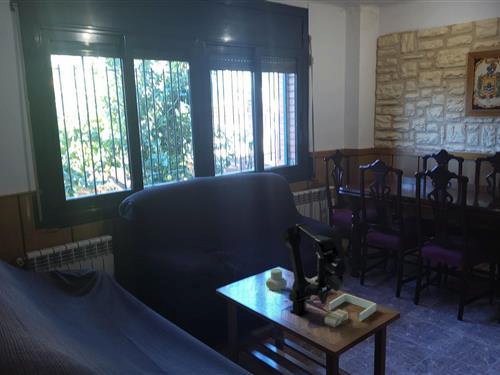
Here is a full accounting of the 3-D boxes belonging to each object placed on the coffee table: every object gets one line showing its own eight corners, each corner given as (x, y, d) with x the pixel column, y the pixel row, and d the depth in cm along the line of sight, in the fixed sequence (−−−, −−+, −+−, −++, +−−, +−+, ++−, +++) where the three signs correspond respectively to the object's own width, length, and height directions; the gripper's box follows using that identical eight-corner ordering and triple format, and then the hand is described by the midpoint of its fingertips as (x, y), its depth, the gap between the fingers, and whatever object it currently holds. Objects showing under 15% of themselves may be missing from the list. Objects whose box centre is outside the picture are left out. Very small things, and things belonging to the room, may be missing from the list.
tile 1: (334, 327, 184) (334, 321, 183) (324, 324, 187) (324, 317, 187) (340, 323, 188) (340, 317, 187) (330, 319, 191) (330, 313, 190)
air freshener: (263, 288, 225) (263, 270, 223) (272, 283, 231) (272, 265, 229) (280, 294, 218) (280, 275, 216) (289, 288, 224) (289, 270, 222)
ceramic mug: (305, 290, 221) (306, 276, 219) (316, 286, 226) (317, 272, 224) (321, 298, 213) (321, 283, 211) (332, 293, 218) (332, 279, 216)
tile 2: (341, 322, 188) (341, 316, 188) (332, 318, 192) (332, 312, 191) (347, 319, 192) (348, 312, 191) (338, 315, 195) (338, 309, 195)
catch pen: (360, 321, 189) (360, 314, 188) (328, 309, 200) (328, 302, 199) (375, 310, 199) (376, 303, 198) (344, 300, 210) (345, 293, 209)
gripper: (328, 280, 165) (327, 317, 168) (353, 267, 178) (351, 301, 181) (304, 272, 173) (304, 308, 175) (330, 260, 186) (329, 294, 189)
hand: (323, 303), depth 180 cm, fingers closed
